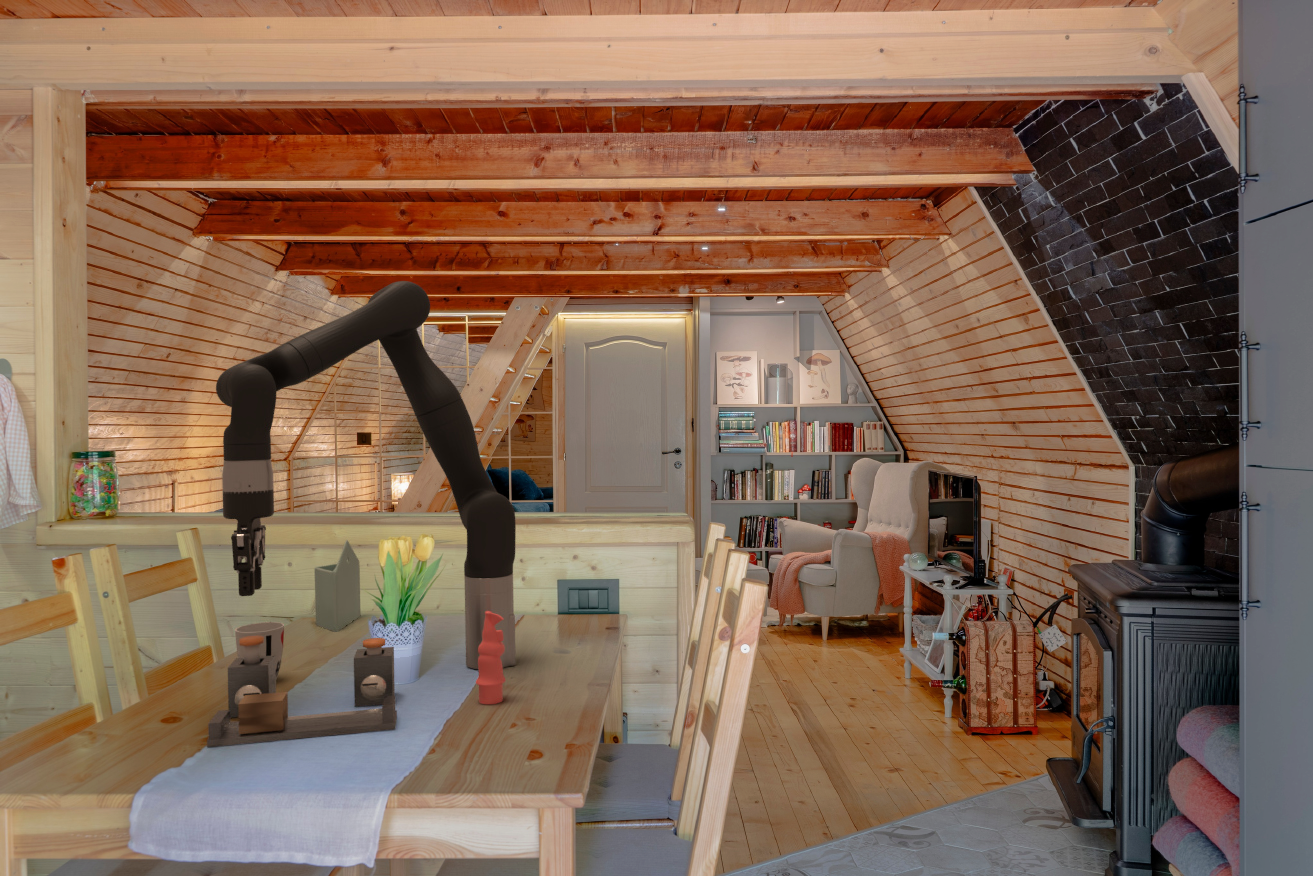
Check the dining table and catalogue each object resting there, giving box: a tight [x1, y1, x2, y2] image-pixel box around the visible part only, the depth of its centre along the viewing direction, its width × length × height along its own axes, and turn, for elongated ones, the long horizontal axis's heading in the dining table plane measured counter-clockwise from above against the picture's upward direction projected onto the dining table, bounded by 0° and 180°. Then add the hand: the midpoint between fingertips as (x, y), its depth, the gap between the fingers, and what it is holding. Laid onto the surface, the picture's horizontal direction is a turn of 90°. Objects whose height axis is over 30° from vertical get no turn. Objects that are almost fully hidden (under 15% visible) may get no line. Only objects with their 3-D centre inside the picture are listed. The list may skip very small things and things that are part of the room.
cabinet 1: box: [227, 655, 277, 719], centre depth 141 cm, size 6×6×8 cm
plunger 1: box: [239, 636, 264, 664], centre depth 142 cm, size 4×4×4 cm
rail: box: [206, 694, 398, 748], centre depth 131 cm, size 26×6×3 cm, turn 104°
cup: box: [234, 621, 285, 681], centre depth 158 cm, size 8×8×10 cm
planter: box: [314, 539, 361, 633], centre depth 204 cm, size 16×8×20 cm, turn 1°
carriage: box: [238, 691, 289, 734], centre depth 130 cm, size 6×4×4 cm
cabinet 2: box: [353, 646, 396, 708], centre depth 146 cm, size 6×6×8 cm
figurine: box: [475, 611, 506, 705], centre depth 145 cm, size 5×5×15 cm
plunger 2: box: [362, 637, 386, 655], centre depth 146 cm, size 4×4×4 cm
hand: (250, 591), depth 141 cm, fingers open, 5 cm apart
